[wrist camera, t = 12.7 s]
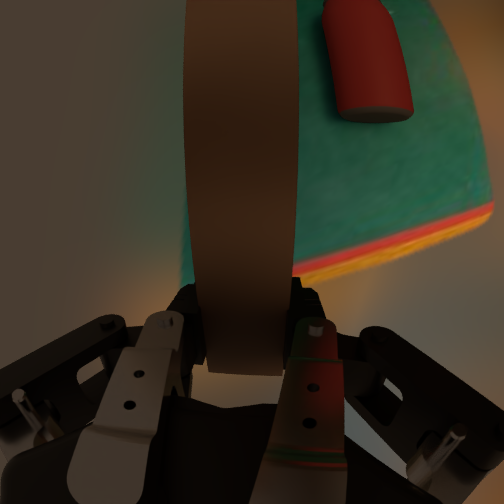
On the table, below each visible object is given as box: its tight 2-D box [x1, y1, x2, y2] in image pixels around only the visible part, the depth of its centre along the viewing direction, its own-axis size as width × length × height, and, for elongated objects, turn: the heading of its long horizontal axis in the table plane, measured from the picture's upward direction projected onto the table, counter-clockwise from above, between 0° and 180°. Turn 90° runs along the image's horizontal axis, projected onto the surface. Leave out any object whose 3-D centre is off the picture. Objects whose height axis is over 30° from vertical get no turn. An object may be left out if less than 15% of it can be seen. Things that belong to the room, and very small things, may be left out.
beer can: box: [322, 0, 414, 123], centre depth 17 cm, size 7×7×12 cm
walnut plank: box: [183, 0, 299, 376], centre depth 8 cm, size 18×3×4 cm, turn 0°
